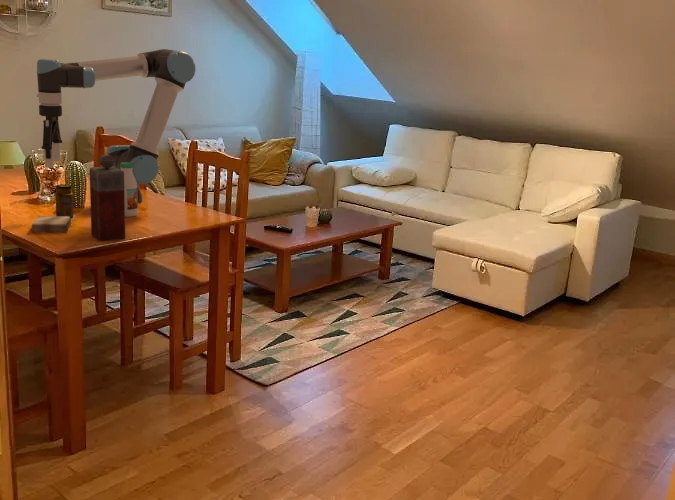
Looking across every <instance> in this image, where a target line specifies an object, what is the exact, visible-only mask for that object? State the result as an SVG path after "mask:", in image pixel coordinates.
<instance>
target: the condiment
mask: <svg viewBox="0 0 675 500" xmlns="http://www.w3.org/2000/svg"><path fill="white" fill-rule="evenodd" d="M55 188H56V190H55V191H56V192H55V195H54V196H55V214H53V216H70V218H71V221H75V220H76V214H75V213H74V194H73V192H72V191H73V190H72V185H70V184H67V183H66V184H64V183H62V184H56V186H55Z"/></svg>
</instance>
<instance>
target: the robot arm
mask: <svg viewBox="0 0 675 500" xmlns="http://www.w3.org/2000/svg"><path fill="white" fill-rule="evenodd" d="M195 74H196V63H195V61H194V59H193V58H192V56H191V55H190V54H189V53H187V52H186V51H181V50H179V49H169V48H167V49H165V48H164V49H157V50H152V51H147V52H139V53H137V55H134V56H125V57H115V58H104V59H97V60H87V61H77V62H68V63H66V62H65V63H63V62H61V61H60V60H58V59H51V58H49V59H47V58H39V59H38V60H37V61H36V77H37V91H38V93H37V94H36V97H37V98H38V103H39V105H38V112H39V116H41V117H45V119H43V121H42V122H43V128H42V129H43V130H42V133H43V134H42V145H41V150H43V153H44V154H43V155H44V168H45V169H47V168H48V169H51V168H52V169H54V162H61V144H63V140H62V137H61V131H60V129H61V128H60V123H59V117H62V116H63V107H62V103H63V102H62V98H63V97H62V88H72V89H73V88H74V89H75V88H76V89H77V88H78V89H86V88H87V89H88V88H89V89H90V88H93V87H94V86H95V84H96V82H97V81H106V80H113V79H114V80H115V79H122V78H123V79H124V78H130V77H131V78H132V77H133V78H134V77H141V78H143V79H145V78H154V80H155V83H156V84H155V88H154V90H153V93H152V96H151V99H150V102H149V104H148V107H147V109H146V111H145V112H146V113H145V114H144V118H143V121H142V123H141V125H140V128H139V131H138V133H137V137H136V140H135V141H133V142H131V143H130V144H129V145H128V144H127V145H125V144H124V145H122V144H121V145H120V144H119V145H110V146H109V147H108V148H107V153H106V155H109V156H111V157H112V158H113V160H114V164H113V166H115V167H117V168H118V169H120V163H122V162H130V163H133V169H132V172H133V175H134V177H135V179H136V182H137V191H138V204H140V203H142V202H143V193H142V191H141V188H140V185H144V184H148V183H151V182H153V180H155V179H156V177H157V176H158V174H159V171H160V170H159V169H160V166H159V163H158V159H159V156H160V153H159V151H158V147H159V146H160V145H159V144H160V142H161V139H162V137H163V133H164V131H165V130H166V129H165V128H166V126H167V123H168V121H169V119H170V115H171V112H172V109H173V107H174V105H175V101H176V99H177V96H178V93H179V92H182V91H183V90H184V89H185V86H186V84H187V83H188V82H190V81H192V80H193V78H194V76H195ZM120 170H121V169H120ZM139 184H140V185H139Z"/></svg>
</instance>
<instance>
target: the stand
mask: <svg viewBox="0 0 675 500" xmlns="http://www.w3.org/2000/svg"><path fill="white" fill-rule="evenodd" d="M71 225H72V220H71V218H70V216H54V215H52V216H50V215H38V216H37V217H36V218H35V220H34V221H33V222H32V225H31V232H32V233H50V234H51V233H52V234H53V233H56V234H57V233H59V234H60V233H66V234H68V231H69V230H70V227H71Z"/></svg>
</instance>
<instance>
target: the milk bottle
mask: <svg viewBox="0 0 675 500" xmlns="http://www.w3.org/2000/svg"><path fill="white" fill-rule="evenodd" d="M120 169H121V170H122V171H123V172H124V192H125V218H126V217H128V218H129V217H135V216H137V215H138V214H139V212H138V211H139V207H138V205H139V203H138V191H137V182H136V179H135V177H134V175H133V172H132V169H133V163H130V162H122V163H120Z"/></svg>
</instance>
